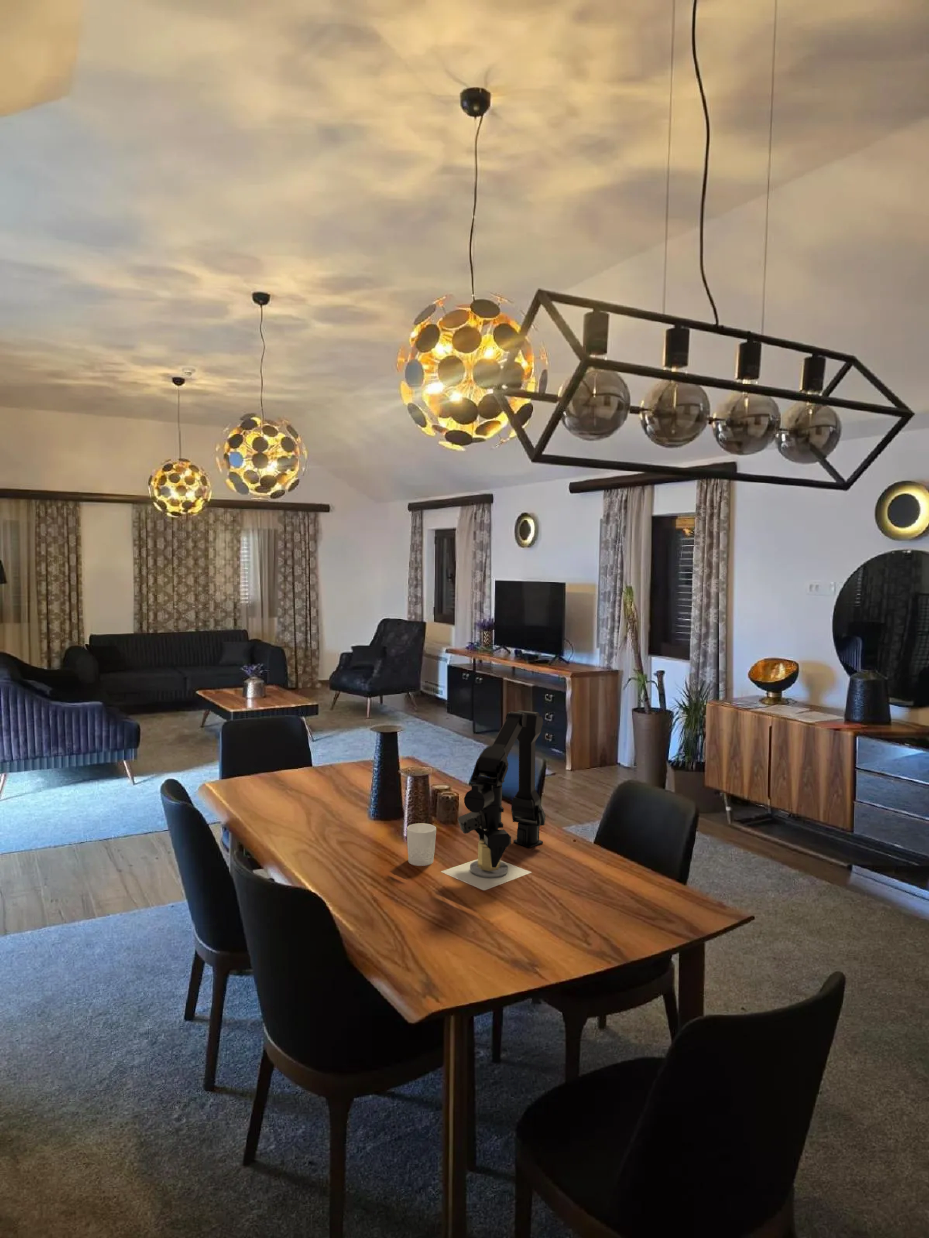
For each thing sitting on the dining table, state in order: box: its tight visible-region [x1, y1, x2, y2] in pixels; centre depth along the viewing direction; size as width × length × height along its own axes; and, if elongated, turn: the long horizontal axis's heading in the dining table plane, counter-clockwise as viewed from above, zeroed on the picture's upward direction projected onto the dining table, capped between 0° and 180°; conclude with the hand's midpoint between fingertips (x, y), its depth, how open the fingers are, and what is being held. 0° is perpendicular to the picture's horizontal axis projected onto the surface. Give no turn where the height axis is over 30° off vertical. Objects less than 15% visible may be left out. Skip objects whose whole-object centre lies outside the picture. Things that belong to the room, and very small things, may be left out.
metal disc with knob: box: [470, 861, 508, 878], centre depth 206 cm, size 10×10×6 cm
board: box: [440, 858, 532, 891], centre depth 206 cm, size 18×16×1 cm
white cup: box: [406, 822, 437, 867], centre depth 212 cm, size 8×8×10 cm
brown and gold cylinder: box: [477, 838, 502, 871], centre depth 206 cm, size 6×6×7 cm
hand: (489, 860), depth 206 cm, fingers open, 9 cm apart
